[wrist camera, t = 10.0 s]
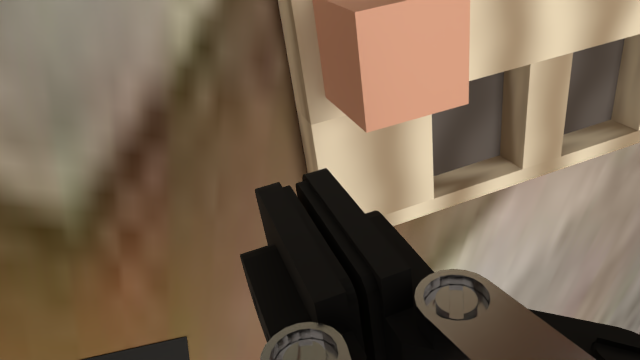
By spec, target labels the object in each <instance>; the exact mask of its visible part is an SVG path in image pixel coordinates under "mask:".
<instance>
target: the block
mask: <svg viewBox="0 0 640 360" xmlns="http://www.w3.org/2000/svg"><path fill="white" fill-rule="evenodd" d="M312 1H313V9H314V16H315V23H316V31H317V38H318V45H319V52H320V60H321V67H322V74H323V82H324V89H325V96H326V98H327V99H328V100H329V101H330V102H332V103H333V104H334V105H335V106H336V107H337V108H338V109H340V110H341V111H342V112H343V113H344V114H345V115H347V116H348V117H349V118H350V119H351V120H352V121H353V122H355V123H356V124H357V125H358V126H359V127H360V128H362V129H363V130H364V131H365V132H366V133H368V132H371V131H375V130H378V129H382V128H385V127H389V126H392V125H396V124H399V123H403V122H406V121H410V120H413V119H417V118H420V117H424V116H427V115H431V114H435V113H438V112H442V111H445V110H449V109H452V108H456V107H459V106H463V105H466V104H469V48H470V0H312Z"/></svg>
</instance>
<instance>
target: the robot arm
mask: <svg viewBox="0 0 640 360" xmlns="http://www.w3.org/2000/svg"><path fill="white" fill-rule="evenodd" d="M296 191H297V196H298V197H297V196H296V194H295V193H294V191H293V189H292V188H291V186H286V187H283V188H282V186H281V184H280V183H279V182H277V183H274V184H271V185H267V186H264V187H261V188H257V189H255V193H256V198H257V202H258V206H259V210H260V214H261V218H262V223H263V227H264V231H265V235H266V239H267V243H268V246H265V247H262V248H259V249H256V250H253V251H249V252H246V253H243V254H240V257H241V261H242V265H243V268H244V272H245V276H246V279H247V283H248V286H249V289H250V293H251V296H252V299H253V302H254V306H255V309H256V312H257V315H258V318H259V321H260V324H261V326H262V329H263V332H264V335H265V338H266V341H267V344H266V345H265V347H264V349H263V351H262V354H261V358H260V360H640V334H639V335H638V334H636V333H635V332H632V331H629V330H626V329H622V328H619V327H615V326H610V325H605V324H600V323H595V322H590V321H585V320H580V319H575V318H570V317H565V316H560V315H555V314H550V313H545V312H540V311H535V310H530V309H527V308H526V307H524V306H523V305H522V304H520V303H519V302H517V301H516V300H515V299H513V298H512V297H511V296H509V295H508V294H507V293H505V292H504V291H503V290H501V289H500V288H499V287H497V286H496V285H494V284H493V283H492V282H490V281H489V280H488V279H486V278H484V277H482V276H481V275H479V274H477V273H473V272H470V271H467V270H458V269H449V270H441V271H438V272H435V273H434V272H433V271H432V269H431V268H430V267H429V266H428V265H427V264H426V263H425V262H424V261H423V259H422V258H421V257H420V256H419V255H418V254H417V253H416V252H415V250H414V249H413V248H412V247H411V246H410V245H409V244H408V243H407V242H406V240H405V239H404V238H403V237H402V236H401V235H400V234H399V233H398V232H397V230H396V229H395V228H394V227H393V226H392V225H391V224H390V223H389V221H388V220H387V219H386V218H385V217H384V216H383V215H382V214H381V213H380V212H379V211H376V210H375V211H372V212H369V213H364V212H363V211H362V209H361V208H360V207H359V206H358V205H357V203H356V202H355V201H354V200H353V199H352V197H351V196H350V195H349V194H348V193H347V191H346V190H345V189H344V188H343V187H342V186H341V184H340V183H339V182H338V181H337V180H336V178H335V177H334V176H333V175H332V174H331V172H330V171H329V170H328V169H327V168H324V169H321V170H317V171H314V172H311V173H307V174H304V175H303V181H302V182H299V183H296Z"/></svg>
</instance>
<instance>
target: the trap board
mask: <svg viewBox="0 0 640 360" xmlns="http://www.w3.org/2000/svg"><path fill="white" fill-rule="evenodd" d="M278 5H279V11H280V16H281V22H282V28H283V34H284V39H285V45H286V51H287V57H288V62H289V68H290V74H291V80H292V85H293V91H294V97H295V103H296V108H297V114H298V120H299V126H300V131H301V137H302V143H303V149H304V155H305V160H306V166H307V172H308V173H311V172H314V171H317V170H321V169H324V168H327V169H328V170H329V171H330V172H331V174H332V175H333V176H334V177H335V178H336V180H337V181H338V182H339V183H340V184H341V186H342V187H343V188H344V189H345V190H346V191H347V193H348V194H349V195H350V196H351V197H352V199H353V200H354V201H355V202H356V203H357V205H358V206H359V207H360V208H361V209H362V211H363V212H364V213H369V212H372V211H375V210H376V211H379V212H380V213H381V214H382V215H383V216H384V217H385V218H386V219H387V220H388V221H389V223H390V224H391V225H392V226H395V225H398V224H401V223H404V222H407V221H409V220H412V219H415V218H418V217H421V216H424V215H427V214H430V213H433V212H436V211H439V210H442V209H445V208H448V207H451V206H454V205H457V204H460V203H463V202H465V201H468V200H471V199H474V198H477V197H480V196H483V195H486V194H489V193H492V192H495V191H498V190H501V189H504V188H507V187H510V186H513V185H516V184H519V183H522V182H524V181H527V180H530V179H533V178H536V177H539V176H542V175H545V174H548V173H551V172H554V171H557V170H560V169H563V168H566V167H569V166H572V165H575V164H578V163H581V162H583V161H586V160H589V159H592V158H595V157H598V156H601V155H604V154H607V153H610V152H613V151H616V150H619V149H622V148H625V147H628V146H631V145H634V144H637V143H639V142H640V0H470V48H469V104H466V105H463V106H459V107H456V108H452V109H449V110H445V111H442V112H438V113H435V114H431V115H427V116H424V117H420V118H417V119H413V120H410V121H406V122H403V123H399V124H396V125H392V126H389V127H385V128H382V129H378V130H375V131H371V132H368V133H366V132H365V131H364V130H363V129H362V128H360V127H359V126H358V125H357V124H356V123H355V122H353V121H352V120H351V119H350V118H349V117H348V116H347V115H345V114H344V113H343V112H342V111H341V110H340V109H338V108H337V107H336V106H335V105H334V104H333V103H332V102H330V101H329V100H328V99H327V98H326V96H325V89H324V82H323V74H322V67H321V60H320V52H319V45H318V38H317V31H316V23H315V16H314V9H313V1H312V0H278Z"/></svg>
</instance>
